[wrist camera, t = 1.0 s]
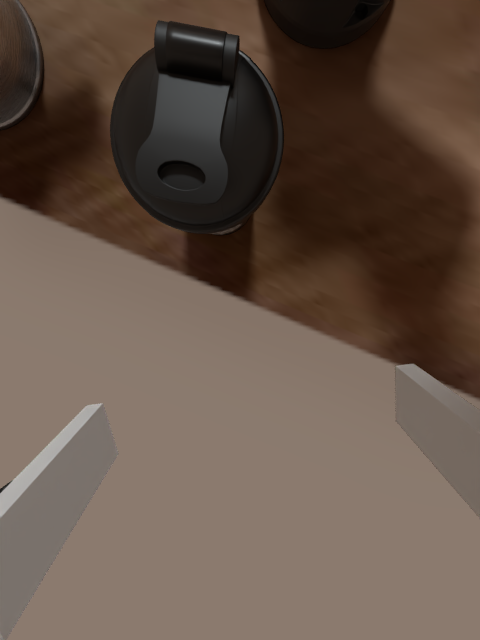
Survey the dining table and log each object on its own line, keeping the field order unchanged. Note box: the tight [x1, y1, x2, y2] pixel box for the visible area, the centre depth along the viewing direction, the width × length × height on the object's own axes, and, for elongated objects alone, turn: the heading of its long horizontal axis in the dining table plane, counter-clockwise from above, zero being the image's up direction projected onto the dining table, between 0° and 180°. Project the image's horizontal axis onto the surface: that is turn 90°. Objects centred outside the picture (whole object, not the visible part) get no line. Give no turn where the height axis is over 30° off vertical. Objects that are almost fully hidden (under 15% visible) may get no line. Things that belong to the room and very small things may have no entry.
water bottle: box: [110, 21, 284, 235], centre depth 24 cm, size 10×10×23 cm
